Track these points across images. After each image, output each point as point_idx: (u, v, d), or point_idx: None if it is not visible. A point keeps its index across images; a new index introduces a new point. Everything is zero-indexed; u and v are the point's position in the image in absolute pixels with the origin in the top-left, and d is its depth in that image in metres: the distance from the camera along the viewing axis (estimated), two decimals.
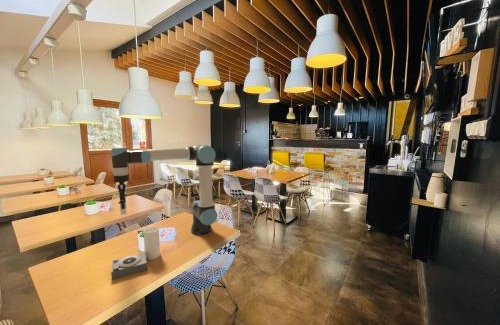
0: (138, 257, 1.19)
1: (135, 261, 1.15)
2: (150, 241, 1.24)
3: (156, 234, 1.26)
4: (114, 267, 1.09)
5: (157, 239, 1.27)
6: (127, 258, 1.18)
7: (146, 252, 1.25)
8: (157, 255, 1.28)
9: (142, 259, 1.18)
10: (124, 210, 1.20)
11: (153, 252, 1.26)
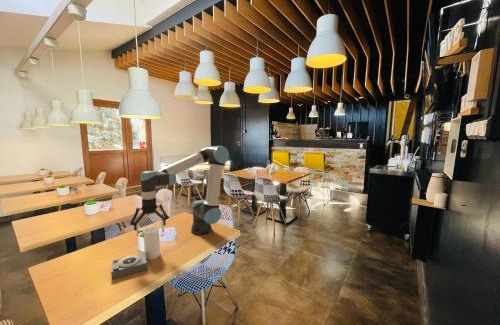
0: (138, 257, 1.19)
1: (135, 261, 1.15)
2: (150, 241, 1.24)
3: (156, 234, 1.26)
4: (114, 267, 1.09)
5: (157, 239, 1.27)
6: (127, 258, 1.18)
7: (146, 252, 1.25)
8: (157, 255, 1.28)
9: (142, 259, 1.18)
10: None
11: (153, 252, 1.26)
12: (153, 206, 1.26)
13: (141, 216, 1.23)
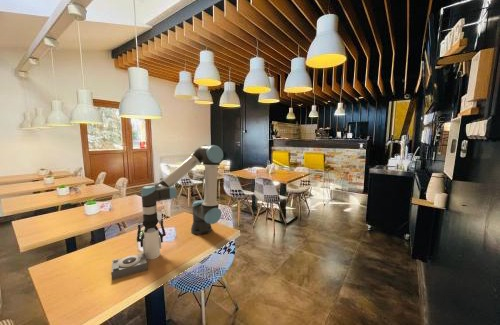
0: (138, 257, 1.19)
1: (135, 261, 1.15)
2: (150, 241, 1.24)
3: (156, 234, 1.26)
4: (114, 267, 1.09)
5: (157, 239, 1.27)
6: (127, 258, 1.18)
7: (146, 252, 1.25)
8: (157, 255, 1.28)
9: (142, 259, 1.18)
10: (143, 248, 1.26)
11: (153, 252, 1.26)
12: (154, 220, 1.27)
13: (145, 232, 1.25)
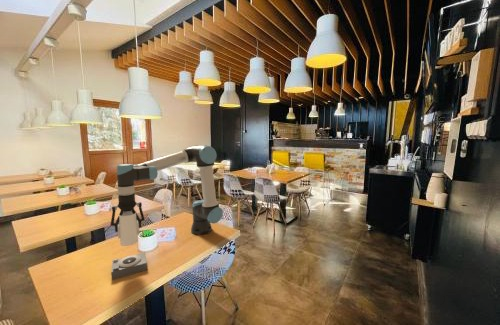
0: (138, 257, 1.19)
1: (135, 261, 1.15)
2: (126, 225, 1.11)
3: (133, 218, 1.13)
4: (114, 267, 1.09)
5: (134, 223, 1.14)
6: (127, 258, 1.18)
7: (121, 238, 1.12)
8: (134, 241, 1.14)
9: (142, 259, 1.18)
10: (118, 233, 1.13)
11: (129, 238, 1.12)
12: (132, 202, 1.14)
13: (120, 215, 1.12)
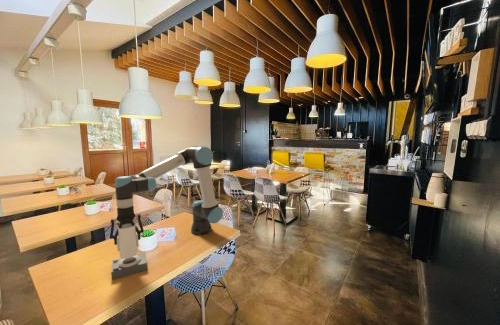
0: (138, 257, 1.19)
1: (135, 261, 1.15)
2: (125, 238, 1.11)
3: (132, 230, 1.13)
4: (114, 267, 1.09)
5: (133, 236, 1.14)
6: (127, 258, 1.18)
7: (120, 250, 1.12)
8: (133, 254, 1.14)
9: (142, 259, 1.18)
10: (117, 246, 1.12)
11: (128, 250, 1.12)
12: (131, 215, 1.14)
13: None
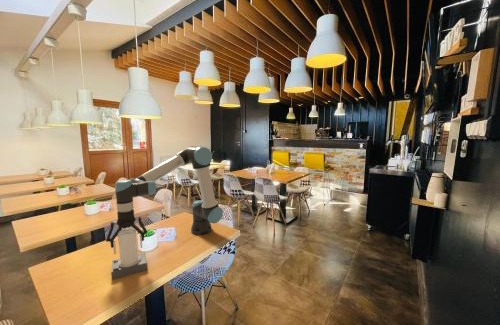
0: (138, 257, 1.19)
1: None
2: (125, 244, 1.11)
3: (132, 236, 1.13)
4: (114, 267, 1.09)
5: (134, 242, 1.14)
6: None
7: (121, 257, 1.12)
8: (134, 260, 1.14)
9: (142, 259, 1.18)
10: None
11: (129, 256, 1.12)
12: (131, 219, 1.14)
13: (117, 231, 1.11)
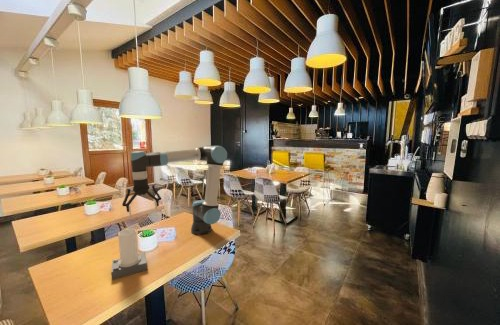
0: (138, 257, 1.19)
1: None
2: (126, 244, 1.11)
3: (133, 236, 1.13)
4: (114, 267, 1.09)
5: (134, 242, 1.14)
6: None
7: (121, 257, 1.12)
8: (134, 260, 1.14)
9: (142, 259, 1.18)
10: (129, 213, 1.22)
11: (129, 257, 1.12)
12: (145, 187, 1.24)
13: (133, 197, 1.21)
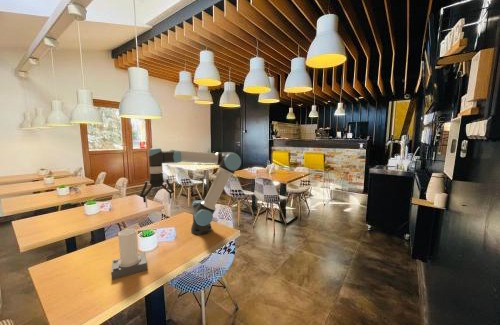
0: (138, 257, 1.19)
1: None
2: (126, 244, 1.11)
3: (133, 236, 1.13)
4: (114, 267, 1.09)
5: (134, 242, 1.14)
6: None
7: (121, 257, 1.12)
8: (134, 260, 1.14)
9: (142, 259, 1.18)
10: None
11: (129, 257, 1.12)
12: (160, 180, 1.38)
13: (149, 189, 1.35)
